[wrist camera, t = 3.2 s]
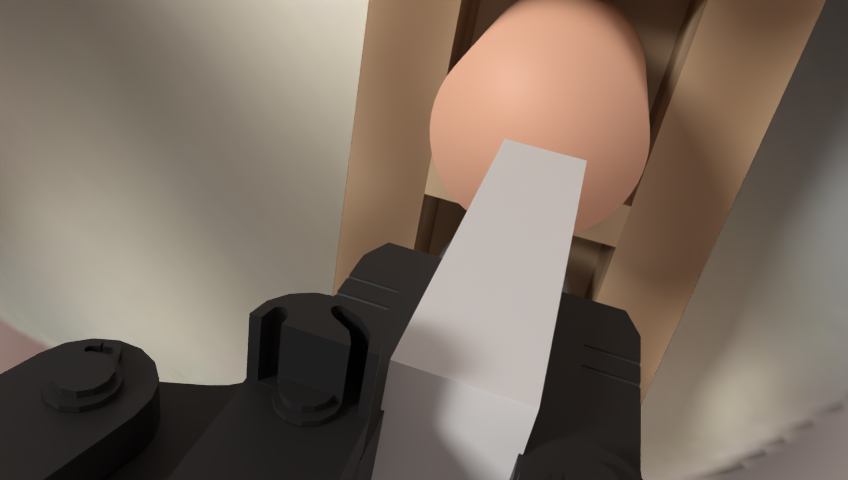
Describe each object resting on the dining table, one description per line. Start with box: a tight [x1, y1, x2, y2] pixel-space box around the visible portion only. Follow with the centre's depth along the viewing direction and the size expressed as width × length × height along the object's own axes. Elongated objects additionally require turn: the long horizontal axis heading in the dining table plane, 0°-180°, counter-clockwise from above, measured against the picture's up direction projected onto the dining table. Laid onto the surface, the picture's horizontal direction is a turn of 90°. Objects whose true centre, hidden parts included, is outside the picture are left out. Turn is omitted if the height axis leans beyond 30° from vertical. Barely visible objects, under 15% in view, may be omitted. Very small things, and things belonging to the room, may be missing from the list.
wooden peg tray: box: [333, 0, 826, 403], centre depth 22 cm, size 12×24×4 cm, turn 170°
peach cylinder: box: [430, 0, 650, 234], centre depth 18 cm, size 5×5×6 cm
